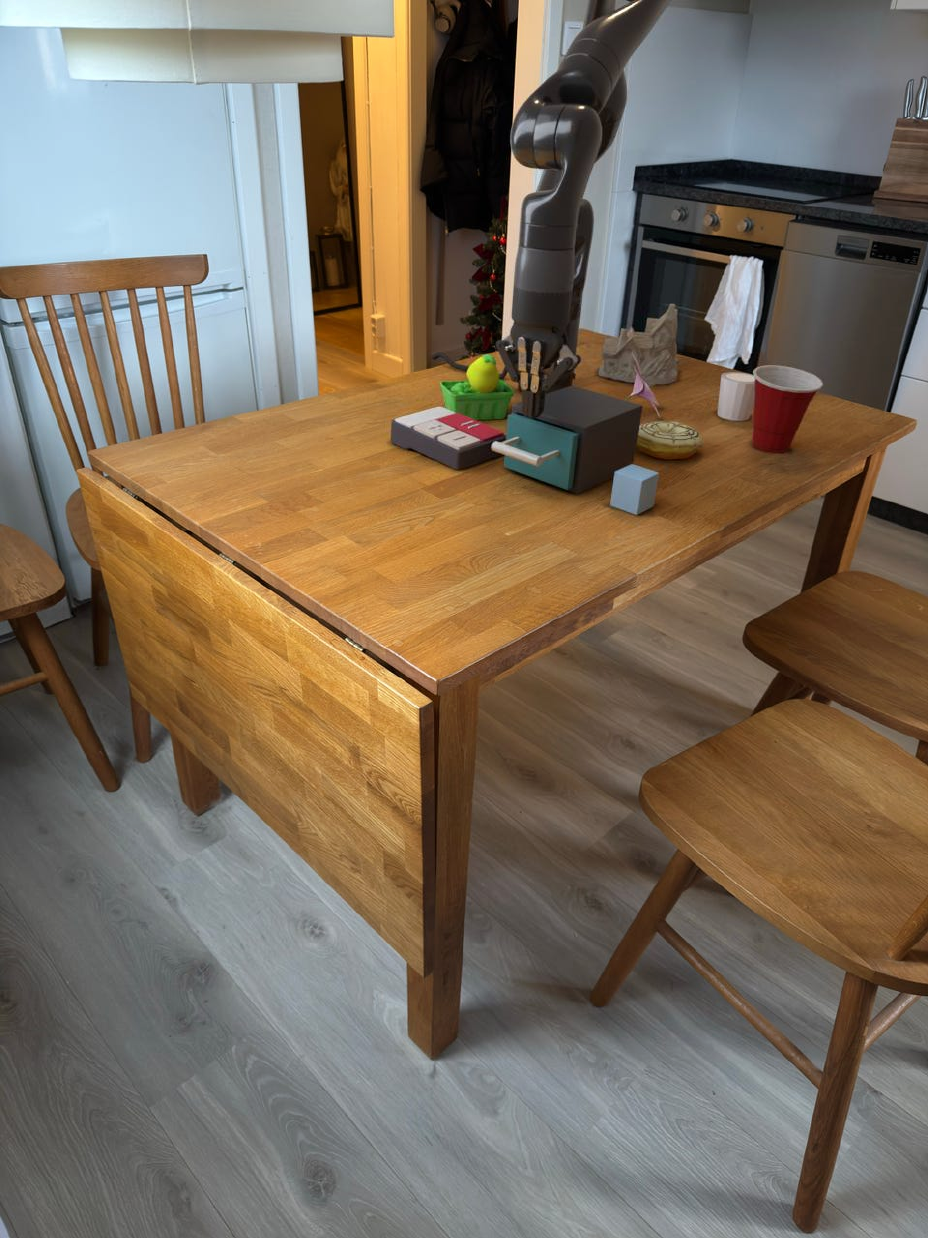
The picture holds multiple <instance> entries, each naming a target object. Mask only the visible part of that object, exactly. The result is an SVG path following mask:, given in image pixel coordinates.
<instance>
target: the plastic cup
mask: <svg viewBox="0 0 928 1238" xmlns="http://www.w3.org/2000/svg"><path fill="white" fill-rule="evenodd" d="M752 375H754V378H755V389H754V391H755V398H754V405H753V415H752V445H753V446H754V447H755V448H756V449H758V450H761V451H764V452H768V453H784V452H787V451H788V450H789V448H790V447H791V445H792V443H793V440H794V438H795V435H796V433H797V431H798V430H799V428H800V426H801V423H802V421H803V419H804V418H805V414H806V412H807V411H808V408H809V406H810V403H811V402H812V401H813V398H814V397H815V395H816V394H817V392H819V390H820V389H821V388H822V387H823V385H824V384H823V381H822V379H821V378H819V377H818V376H816V375H815V374H813V373H811V372H808V371H805V370H804V369H799V368H795V367H791V366H785V365H774V364H773V365H772V364H771V365H769V364H768V365H760V366H757V367H756V368H754V369H753V371H752Z"/></svg>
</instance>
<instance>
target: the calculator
mask: <svg viewBox="0 0 928 1238" xmlns="http://www.w3.org/2000/svg"><path fill="white" fill-rule="evenodd" d="M495 441H497V442H500V443H501V442H504V441H506V434H504V431H502V430H499V429H498V428H495V427H492V426H491V425H487V424H486V423H483V422H481V421H480V420H474V419H472V418H469V417H467V416H465V415H462V414H460V413H455V412H453V411H450V410H448V409H446V407H443V406H436V407H431V408H429V409H425V410H422V411H417V412H414V413H410V414H407V415H403V416H399V417H397V418H395V419H393V420H391V422H390V443H391V444H394V445H396V446H398V447H400V448H402V449H404V450H409V449H412V450H413V451H415V452H418V453H420V454H422V455H424V456H426V457H428V458H430V459H432V460H435V461H437V462H438V463H441V464H443V465H445V466H447V467H449V468H452V469H453V470H456V471H460V470H463V469H466V468H469V467H471V466H474V465H477V464H481V463H483V462H486V461H489V460H491V459H494V458H497V457H500V456H503V454H501V453H498V452H495V451H493V450H492V444H493V442H495Z"/></svg>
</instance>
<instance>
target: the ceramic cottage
mask: <svg viewBox="0 0 928 1238" xmlns="http://www.w3.org/2000/svg"><path fill="white" fill-rule="evenodd" d="M678 323H679V322H678V309H677V308H676V304H675V303H669V305H668V308H667V310H666V312H665V313H664V314H663V315H662V316H661V317H659V318H653V317H647V318H646V324H645V329H644V331H641V332H640V331H635V329H634V327H632V326H631V327H629V329H628V328H623V327H622V328H621V329H620V333H619V336H615V335H614V336H613V335H610V334H607V335H606V336H605V337H604V343H603V344H604V345H603V347H602V348H601V351H600V352H601V354H600V355H601V360H602V361H603V363H602V364H601V365H600V367H599V370H598V376H599V377H601V378H608V379H609V378H610V379H612V380H613V381H621V382H625V383H634V384H635V381H636V376H637V373H638V375H639V371H638V366H637V363H636V361H635V358H636V360H637V362H638V364H639V367H640V370H641V378H642V380H643V381H644V382H645V383H646V384H647V385H648V384H650V385H651V384H653V385H654V383H655V385H662V386H663V385H668V384H672V383H675V382H677V380H678V374H679V370H680V369H679V364H680V359H678V358H677V351H678V350H677V349H678V347H677V343H676V341H677V340H676V339H677V334H678V327H679V324H678ZM632 353H633V354H632ZM633 355H634V356H633ZM634 357H635V358H634ZM633 366H634V367H635V368H636V370H637V373H636V371H635V369H634V367H633ZM651 381H652V382H651Z"/></svg>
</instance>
